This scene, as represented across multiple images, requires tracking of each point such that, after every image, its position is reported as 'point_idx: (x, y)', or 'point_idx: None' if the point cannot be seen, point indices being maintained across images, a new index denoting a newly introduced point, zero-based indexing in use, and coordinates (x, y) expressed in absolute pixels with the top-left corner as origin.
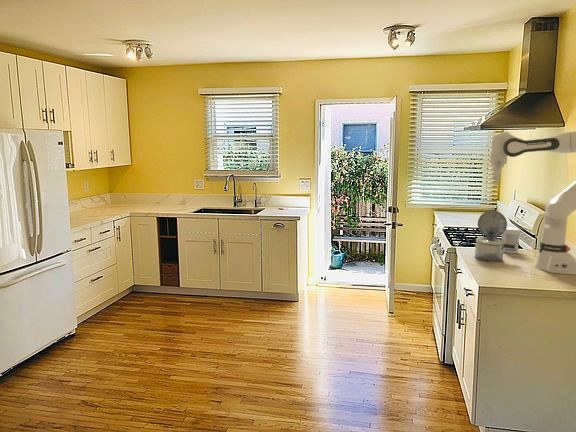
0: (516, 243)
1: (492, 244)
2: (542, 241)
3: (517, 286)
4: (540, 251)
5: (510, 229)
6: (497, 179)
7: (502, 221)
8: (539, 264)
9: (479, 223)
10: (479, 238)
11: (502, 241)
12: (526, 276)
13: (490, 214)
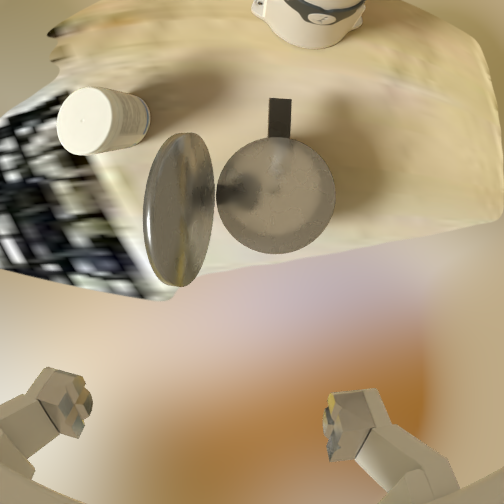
0: (129, 96)
1: (334, 190)
2: (344, 6)
3: (495, 144)
4: (334, 23)
5: (104, 120)
6: (441, 471)
7: (183, 159)
8: (334, 38)
9: (194, 270)
10: (256, 240)
11: (273, 147)
12: (426, 98)
13: (169, 240)
